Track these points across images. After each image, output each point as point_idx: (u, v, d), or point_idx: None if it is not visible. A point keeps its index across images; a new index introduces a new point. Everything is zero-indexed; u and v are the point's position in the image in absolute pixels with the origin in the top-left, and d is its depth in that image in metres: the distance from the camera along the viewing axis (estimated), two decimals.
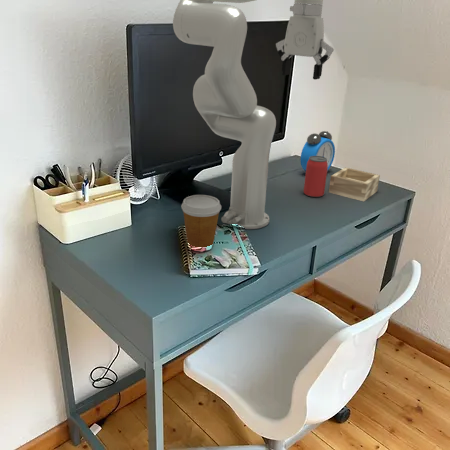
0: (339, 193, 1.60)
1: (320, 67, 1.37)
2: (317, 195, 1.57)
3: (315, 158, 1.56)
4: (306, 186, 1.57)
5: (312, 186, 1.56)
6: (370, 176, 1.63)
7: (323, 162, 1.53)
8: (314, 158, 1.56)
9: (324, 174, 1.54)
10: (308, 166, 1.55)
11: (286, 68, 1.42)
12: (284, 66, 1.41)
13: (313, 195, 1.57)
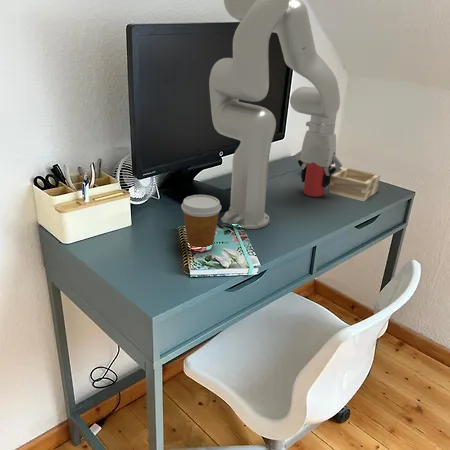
0: (339, 193, 1.60)
1: (329, 177, 1.54)
2: (317, 195, 1.57)
3: None
4: (306, 186, 1.57)
5: (312, 186, 1.55)
6: (370, 176, 1.63)
7: None
8: None
9: (324, 174, 1.54)
10: (308, 166, 1.55)
11: None
12: (303, 174, 1.58)
13: (313, 195, 1.57)
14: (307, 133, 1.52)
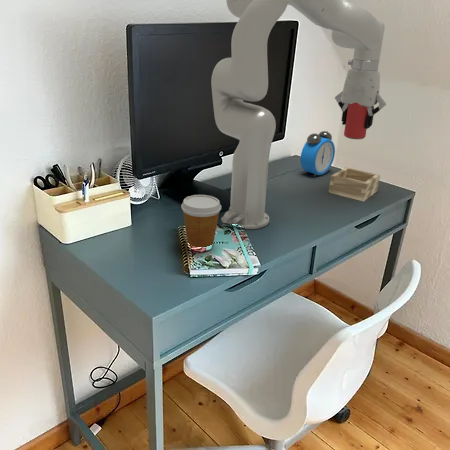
0: (339, 193, 1.60)
1: (371, 118, 1.50)
2: (359, 137, 1.52)
3: None
4: (347, 128, 1.53)
5: (354, 127, 1.51)
6: (370, 176, 1.63)
7: None
8: None
9: (366, 115, 1.50)
10: (350, 106, 1.50)
11: None
12: (344, 117, 1.53)
13: (355, 137, 1.52)
14: (350, 71, 1.47)
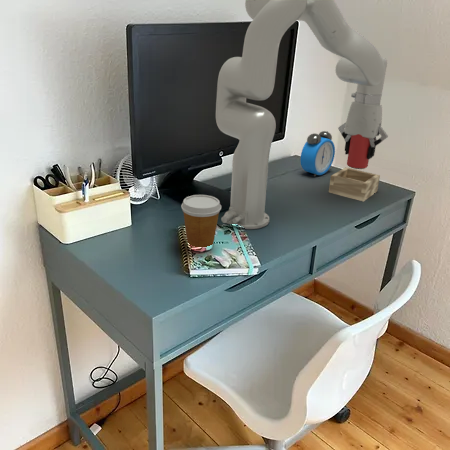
0: (339, 193, 1.60)
1: (374, 149, 1.55)
2: (361, 167, 1.57)
3: None
4: (350, 158, 1.57)
5: (357, 157, 1.56)
6: (370, 176, 1.63)
7: None
8: None
9: (369, 146, 1.55)
10: (353, 137, 1.55)
11: None
12: (347, 147, 1.58)
13: (357, 167, 1.57)
14: (353, 104, 1.52)
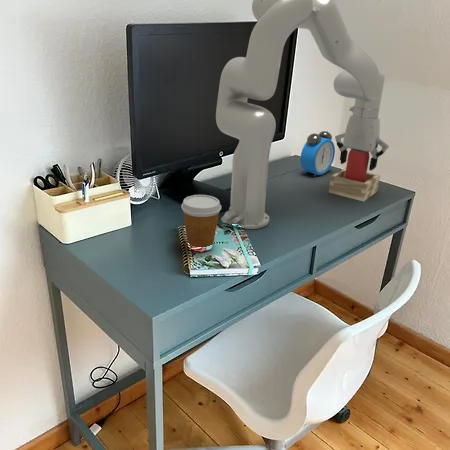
0: (339, 193, 1.60)
1: (376, 160, 1.55)
2: None
3: None
4: (347, 176, 1.60)
5: (354, 176, 1.58)
6: (370, 176, 1.63)
7: (365, 153, 1.55)
8: None
9: (366, 165, 1.57)
10: (350, 156, 1.57)
11: (344, 158, 1.61)
12: (342, 156, 1.60)
13: None
14: (351, 118, 1.54)
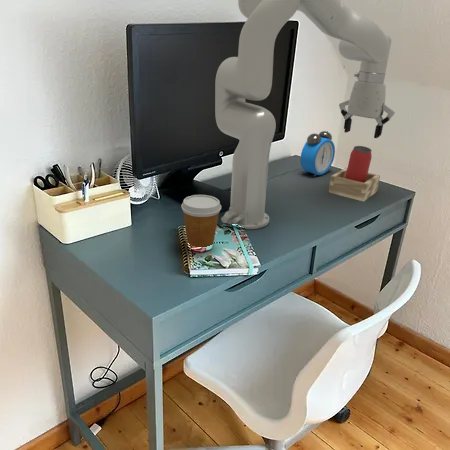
0: (339, 193, 1.60)
1: (381, 127, 1.51)
2: None
3: (360, 148, 1.58)
4: (348, 175, 1.60)
5: (354, 176, 1.58)
6: (370, 176, 1.63)
7: (367, 153, 1.55)
8: (359, 148, 1.58)
9: (367, 165, 1.57)
10: (352, 156, 1.57)
11: (348, 126, 1.56)
12: (346, 124, 1.56)
13: None
14: (356, 83, 1.49)
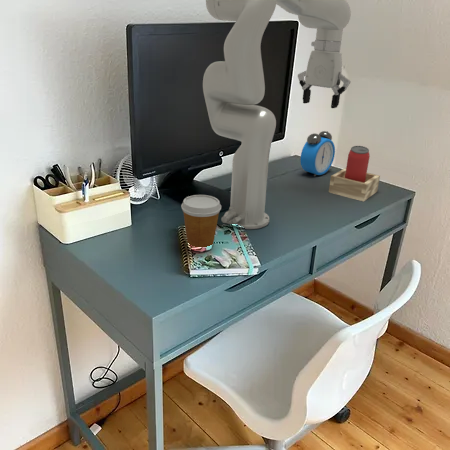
0: (339, 193, 1.60)
1: (338, 97, 1.50)
2: None
3: (357, 149, 1.57)
4: (346, 176, 1.60)
5: (352, 176, 1.58)
6: (370, 176, 1.63)
7: (364, 154, 1.54)
8: (356, 149, 1.57)
9: (364, 166, 1.56)
10: (349, 157, 1.57)
11: (306, 97, 1.56)
12: (305, 95, 1.55)
13: None
14: (312, 52, 1.48)
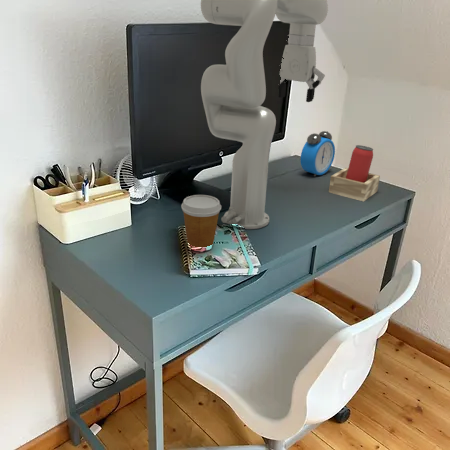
0: (339, 193, 1.60)
1: (312, 91, 1.51)
2: None
3: (362, 147, 1.59)
4: (348, 172, 1.61)
5: (353, 172, 1.59)
6: (370, 176, 1.63)
7: (367, 150, 1.56)
8: (361, 147, 1.59)
9: (366, 163, 1.57)
10: (352, 153, 1.59)
11: (282, 91, 1.56)
12: (280, 89, 1.56)
13: None
14: (286, 47, 1.49)
